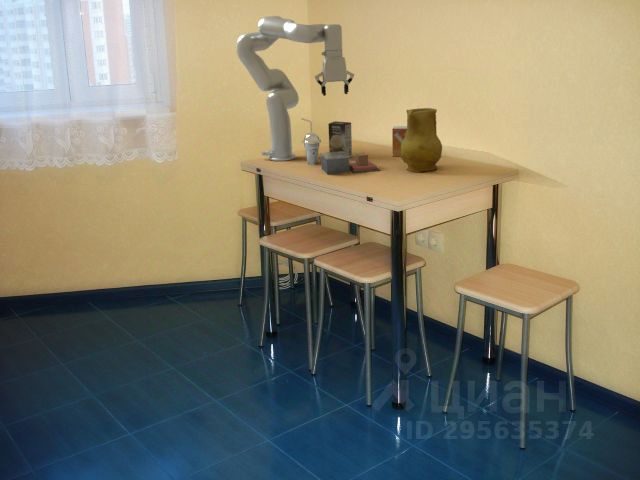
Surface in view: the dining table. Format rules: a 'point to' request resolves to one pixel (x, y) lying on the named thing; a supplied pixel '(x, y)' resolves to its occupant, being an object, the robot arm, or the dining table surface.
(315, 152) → the cup with straw
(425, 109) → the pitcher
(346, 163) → the tin
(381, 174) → the dining table surface
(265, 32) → the robot arm
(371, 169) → the mat
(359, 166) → the lid
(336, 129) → the coffee box
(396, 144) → the small box
